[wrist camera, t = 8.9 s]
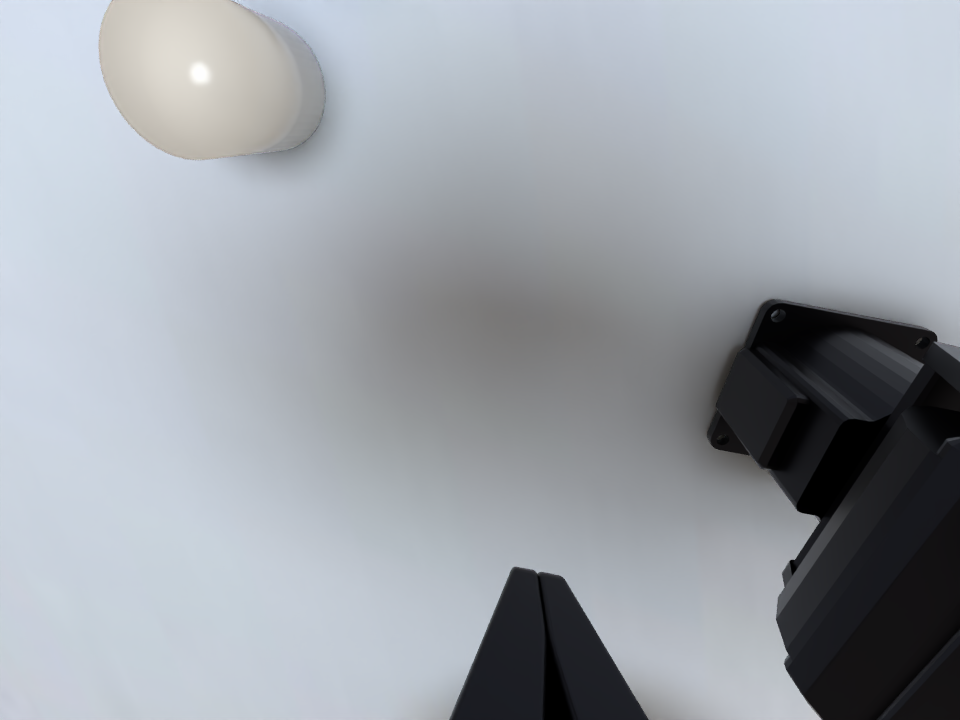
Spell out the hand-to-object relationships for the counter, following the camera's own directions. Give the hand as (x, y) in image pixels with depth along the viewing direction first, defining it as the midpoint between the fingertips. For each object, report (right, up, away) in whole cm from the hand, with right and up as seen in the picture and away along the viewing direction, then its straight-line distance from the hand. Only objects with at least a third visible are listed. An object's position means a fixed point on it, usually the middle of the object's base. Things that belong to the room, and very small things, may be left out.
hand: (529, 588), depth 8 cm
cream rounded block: (-8, +13, +9) cm, 18 cm away
